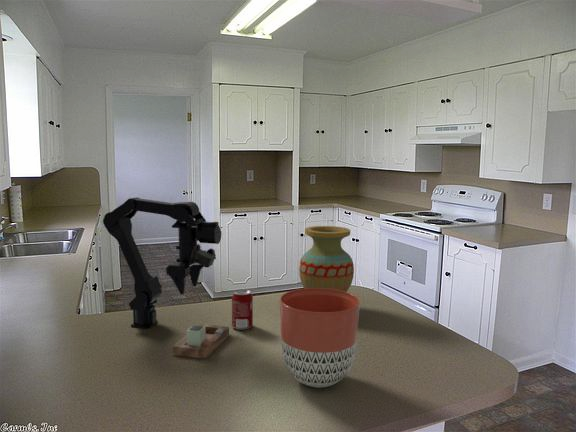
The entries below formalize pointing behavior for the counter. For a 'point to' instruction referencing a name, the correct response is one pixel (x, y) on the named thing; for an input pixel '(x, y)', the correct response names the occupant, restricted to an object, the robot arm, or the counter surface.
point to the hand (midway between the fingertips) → (188, 290)
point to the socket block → (213, 340)
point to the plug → (196, 336)
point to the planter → (319, 334)
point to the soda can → (242, 309)
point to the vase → (326, 260)
